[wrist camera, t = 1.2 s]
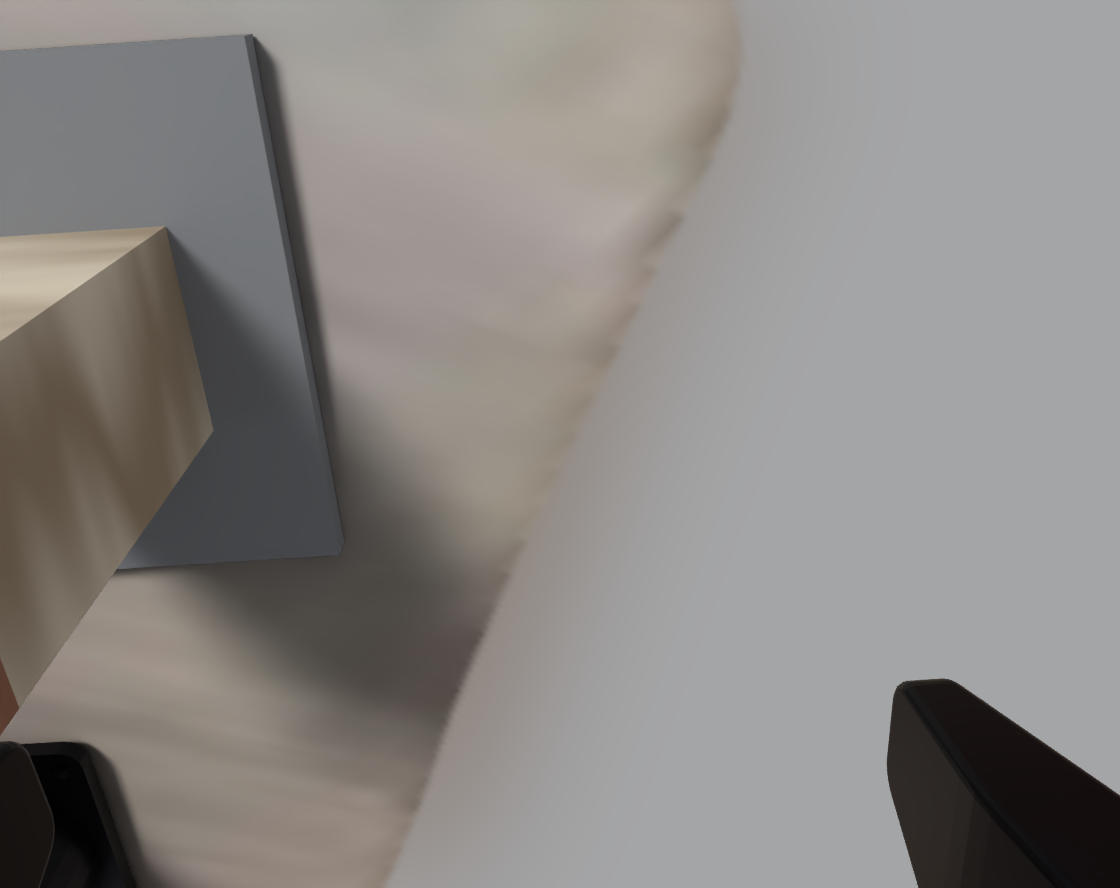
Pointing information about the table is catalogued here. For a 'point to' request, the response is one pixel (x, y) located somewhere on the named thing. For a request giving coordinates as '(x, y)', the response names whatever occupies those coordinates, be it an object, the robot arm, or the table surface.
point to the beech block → (84, 426)
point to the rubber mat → (188, 268)
